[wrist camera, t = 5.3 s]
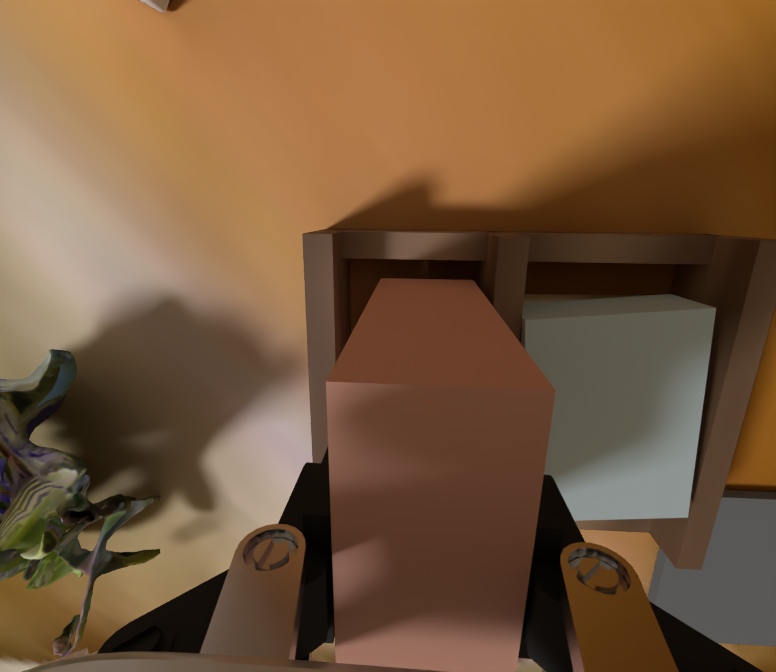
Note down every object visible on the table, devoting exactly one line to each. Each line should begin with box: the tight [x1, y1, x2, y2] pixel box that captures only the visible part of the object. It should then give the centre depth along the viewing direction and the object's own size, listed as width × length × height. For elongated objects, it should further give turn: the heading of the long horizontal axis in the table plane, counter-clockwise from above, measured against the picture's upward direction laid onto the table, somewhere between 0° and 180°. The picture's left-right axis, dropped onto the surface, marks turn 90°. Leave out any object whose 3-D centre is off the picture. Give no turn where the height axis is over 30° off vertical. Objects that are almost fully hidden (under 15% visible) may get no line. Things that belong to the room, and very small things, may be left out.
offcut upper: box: [519, 294, 716, 521], centre depth 16 cm, size 6×8×2 cm
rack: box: [302, 229, 776, 570], centre depth 17 cm, size 16×13×4 cm
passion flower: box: [0, 349, 160, 657], centre depth 18 cm, size 11×11×12 cm
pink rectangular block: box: [326, 278, 556, 672], centre depth 13 cm, size 4×9×10 cm, turn 179°
